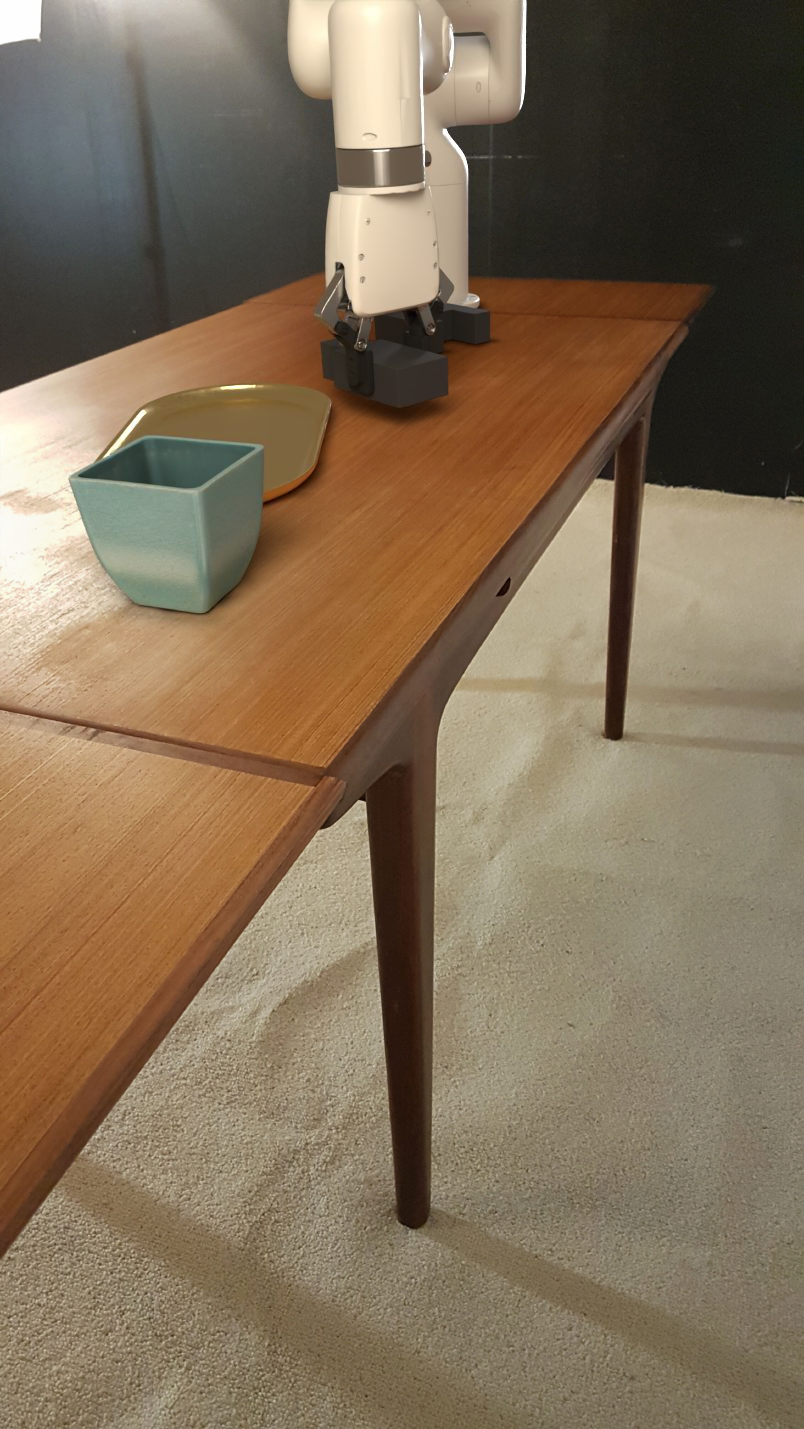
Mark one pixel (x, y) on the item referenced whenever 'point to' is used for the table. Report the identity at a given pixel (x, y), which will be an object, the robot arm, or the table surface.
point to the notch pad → (440, 326)
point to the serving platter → (242, 425)
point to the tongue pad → (391, 372)
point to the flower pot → (174, 517)
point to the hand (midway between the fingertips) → (390, 382)
